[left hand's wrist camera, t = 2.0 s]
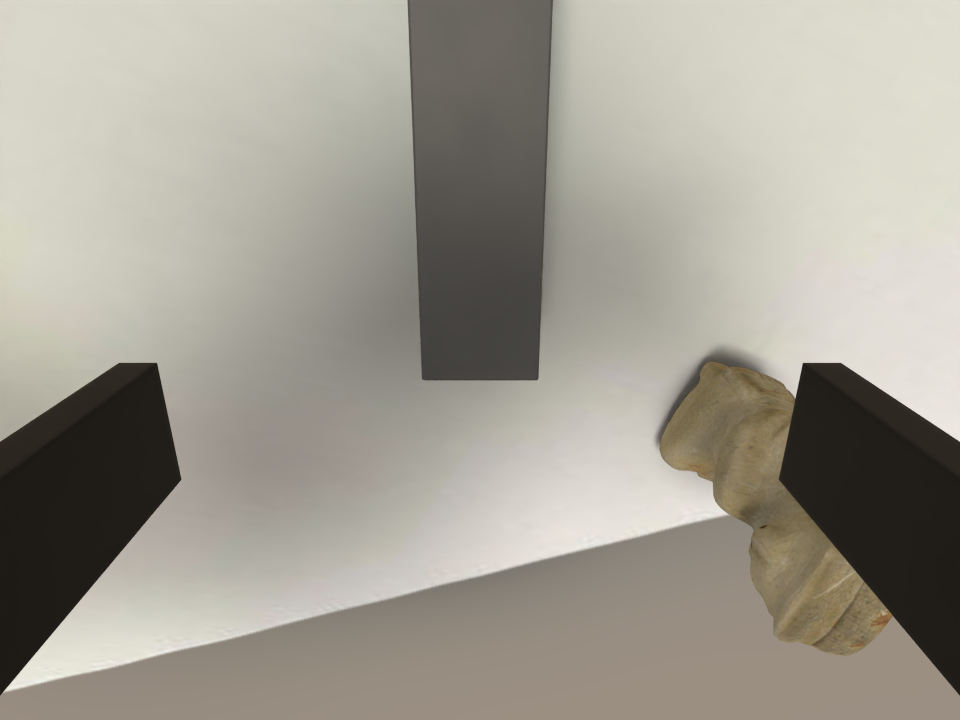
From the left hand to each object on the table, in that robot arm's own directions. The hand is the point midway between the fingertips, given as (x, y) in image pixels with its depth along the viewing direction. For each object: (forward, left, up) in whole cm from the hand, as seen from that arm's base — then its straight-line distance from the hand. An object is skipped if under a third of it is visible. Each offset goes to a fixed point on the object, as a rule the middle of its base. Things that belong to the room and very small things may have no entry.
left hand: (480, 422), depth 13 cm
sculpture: (+10, -13, -21) cm, 26 cm away
